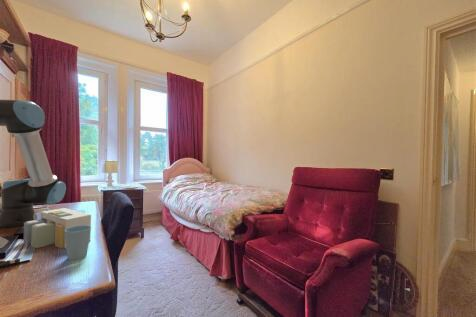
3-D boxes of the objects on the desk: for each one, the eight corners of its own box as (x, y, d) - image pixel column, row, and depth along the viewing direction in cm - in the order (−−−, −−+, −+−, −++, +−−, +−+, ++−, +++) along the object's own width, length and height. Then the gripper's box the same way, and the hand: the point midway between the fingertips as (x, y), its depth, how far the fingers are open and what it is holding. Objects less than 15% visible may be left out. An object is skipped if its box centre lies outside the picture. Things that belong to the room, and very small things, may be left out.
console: (65, 248, 86) (66, 218, 86) (40, 237, 96) (40, 210, 96) (90, 241, 94) (91, 213, 94) (64, 232, 104) (64, 207, 104)
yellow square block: (60, 248, 86) (60, 226, 86) (55, 246, 87) (55, 224, 87) (82, 241, 93) (83, 221, 93) (77, 239, 94) (78, 220, 94)
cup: (71, 264, 74) (72, 233, 74) (59, 259, 77) (60, 229, 77) (94, 255, 81) (95, 227, 81) (82, 251, 84) (83, 224, 84)
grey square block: (27, 244, 88) (28, 223, 88) (23, 242, 90) (24, 221, 90) (51, 238, 95) (52, 218, 95) (47, 236, 97) (48, 217, 97)
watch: (56, 230, 106) (56, 207, 106) (33, 234, 100) (34, 210, 100) (53, 228, 110) (54, 206, 110) (31, 231, 103) (32, 208, 103)
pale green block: (35, 248, 85) (36, 226, 85) (31, 246, 87) (31, 224, 87) (60, 241, 92) (60, 221, 92) (55, 239, 94) (56, 220, 94)
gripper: (-95, 213, 65) (-13, 250, 79) (-87, 220, 59) (0, 258, 73) (-64, 193, 70) (8, 231, 84) (-54, 197, 63) (22, 238, 78)
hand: (4, 244), depth 79 cm, fingers closed
